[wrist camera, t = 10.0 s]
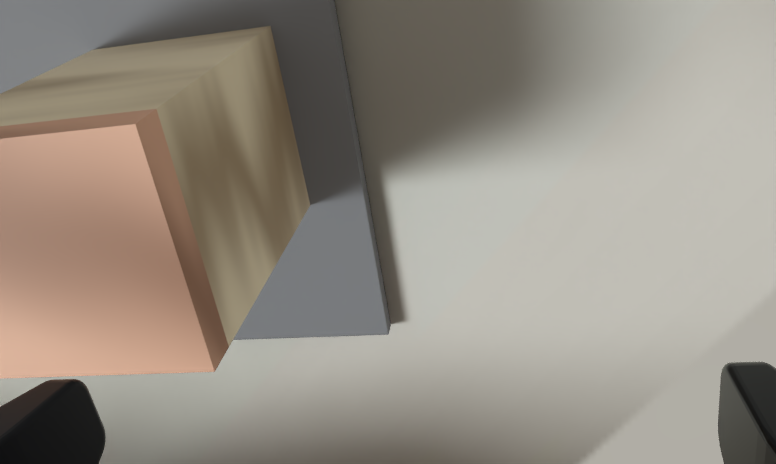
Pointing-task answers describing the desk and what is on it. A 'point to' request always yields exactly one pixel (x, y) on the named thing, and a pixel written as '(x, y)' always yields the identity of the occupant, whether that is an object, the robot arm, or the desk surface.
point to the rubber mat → (311, 128)
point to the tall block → (143, 205)
